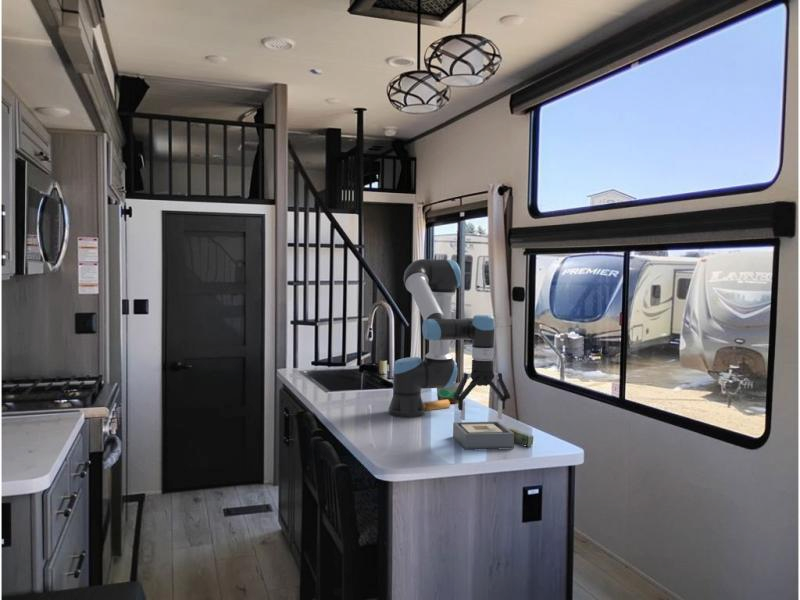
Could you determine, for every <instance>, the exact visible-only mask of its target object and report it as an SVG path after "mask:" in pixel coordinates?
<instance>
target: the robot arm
mask: <svg viewBox="0 0 800 600" xmlns="http://www.w3.org/2000/svg"><path fill="white" fill-rule="evenodd" d="M461 283H462V272H461V268H460V266H459V264H458V262H456V260H452V259H432V258H431V259H424V258H423V259H422V258H421V259H420V258H419V259H417V260H415V261H413V262H411V263H410V264H409V265H408V266H407V268H406V269H405V270H404V275H403V284H404V286H405V288H406V291H408V292H409V293H410V294H411V296H412V297H413V299H414V303H415V304H416V306H417V309H418V310H419V313H420V314H421V317H422V319H423V323H422V327H421V328H422V329H421V331H422V336H423V338H424V339H425V340H427V341H429V342H428V343H429V345H428V346H429V347H428V348H429V349H428V353H426V354H425V356H424V360H423V359H422V358H421V357H420V356H419V357H418V356H417V357H416V356H414V357H404V358H400V359H397V360H395V361H394V363H393V368H392V369H393V370H392V375H393V376H392V379H393V380H392V381H393V382H392V397H391V401H390V403H389V405H388V415H389V416H392V417H396V418H405V419H406V418H407V419H410V418H411V419H412V418H420V417H423V416H425V413H426V412H425V411H426V410H425V409H424V405H423V403H424V402H423V399H422V389H437V388H446V387H451V386H452V385H453V384H454V383H456V381H457V376H458V365H457V364H458V363H457V362H456V360H455V359H453V358H454V357H453V355H452V354H451V353H450V345H451V344H450V343H451V340H453V341H454V340H455V341H457V340H458V341H459V340H460V341H461V340H467V341H468V340H470V341H471V340H472V342H471V345H472V346H471V347H472V348H471V358H472V360H471V373H467V372H462V377H461V380H460V384H459V386H458V388H457V390H456V392H455V394H454V396H453V398H454V399H456V400H458V404H457V407H458V411H460V419H461V420H462V421H465V420H466V419H465V418H466V414H465V413H466V401H465V399H466V398H467V396H468V395H469V394H470V393H471V392H472V390H473V389H474V388H475V387H476V386H478V387H481V386H484V387H487V386H490V388H491V389H492V390H493V392H495V394H496V395H497V397H498V398H499V399H497V419H498V420H503V410H505V409H506V401H507V400H510V399H511V395H510V393H509V391H508V389H507V386H506V384H505V382H504V379H503V374H502V373H501V372H499V371H498V372H495V373H494V360H493V359H494V353H495V352H494V348H495V347H494V344H495V327H496V325H495V318H494V316H492V315H486V314H485V315H484V314H476V315H474V316H473V317H471V318H470V317H469V318H468V317H467V318H452V297H453V296H454V295H455V294H456V290H457V289H458V288H459V287H460V286H461ZM470 378H471V381H470V382H469V384H468V385H467V387H466V388H465V386H466V384H467V381H468V380H470ZM494 378H495V379H496V381H497V382H498V384H499V386H500V389H501V391H502V392H501V391H500V389H498V388H497V386H496V385H495V383H494V382H493V380H494ZM464 388H465V389H464ZM463 389H464V390H463ZM503 394H504V395H503Z"/></svg>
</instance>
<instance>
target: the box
mask: <svg viewBox="0 0 800 600" xmlns="http://www.w3.org/2000/svg"><path fill="white" fill-rule="evenodd" d="M508 428H509V427H506V426H505V425H504V424H503V423H501V422H500V421H497V420H496V421H462V422H459V421H457V422H453V425H452V437H453V438H454V439H455V440H456V442H457V441H458V442H457V443H458V444H459V445H460V446H461V447H462V448H463V450H465V451H479V450H478V449H487V450H500V449H499V448H515V447H514V446H515V442H514V433H513V432H512V431H510V430H509V429H508ZM475 449H477V450H475Z"/></svg>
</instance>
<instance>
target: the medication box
mask: <svg viewBox="0 0 800 600" xmlns="http://www.w3.org/2000/svg"><path fill="white" fill-rule="evenodd" d="M507 428H508V429H509V430H510V431H512V432H513V433H514V443H515V442H517V443H516V444H518V443H520V444H523V445H526V446H531V445H532V446H533V444H534V439H535V438H534V435H532V434H529V433H525V432H523V431H521V430H518V429H515V428H511V427H507ZM520 444H519V445H520ZM523 445H522V446H523Z"/></svg>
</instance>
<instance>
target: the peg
mask: <svg viewBox="0 0 800 600" xmlns="http://www.w3.org/2000/svg"><path fill="white" fill-rule="evenodd" d="M423 405H424V409H425V411H426V412H429V411H436V410H444V409H450V407H451V404H450V402H449V400H447V399H446V400H439V401H438V400H433V401H425V402H423Z"/></svg>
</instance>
